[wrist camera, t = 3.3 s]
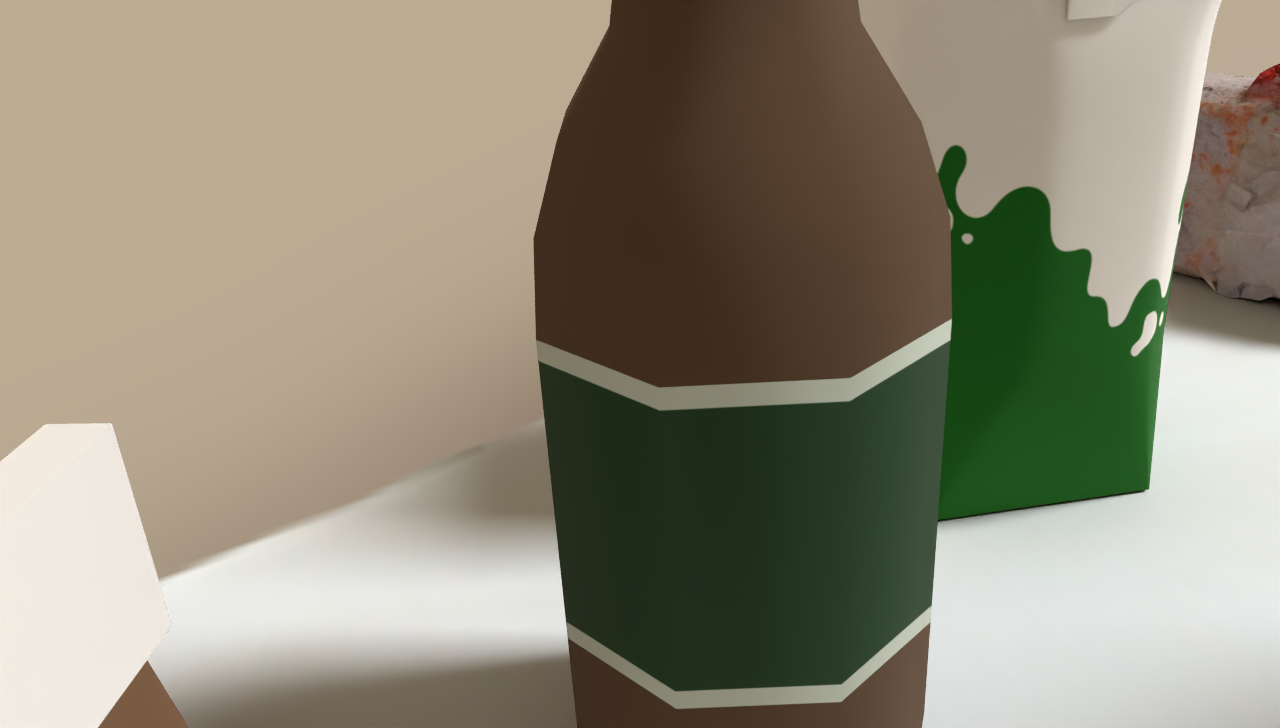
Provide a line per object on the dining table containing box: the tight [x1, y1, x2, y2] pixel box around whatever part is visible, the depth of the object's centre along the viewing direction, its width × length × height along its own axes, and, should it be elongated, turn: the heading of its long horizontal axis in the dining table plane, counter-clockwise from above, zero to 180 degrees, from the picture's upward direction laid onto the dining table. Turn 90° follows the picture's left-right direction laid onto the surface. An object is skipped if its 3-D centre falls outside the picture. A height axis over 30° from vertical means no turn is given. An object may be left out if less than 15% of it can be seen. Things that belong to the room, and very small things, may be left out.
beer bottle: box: [534, 0, 952, 728], centre depth 20 cm, size 8×8×24 cm
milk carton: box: [858, 0, 1222, 520], centre depth 32 cm, size 9×9×20 cm
